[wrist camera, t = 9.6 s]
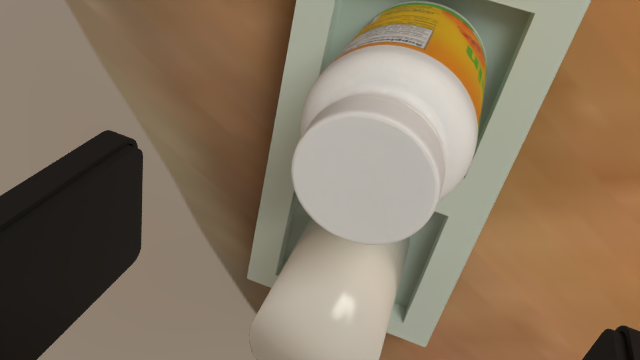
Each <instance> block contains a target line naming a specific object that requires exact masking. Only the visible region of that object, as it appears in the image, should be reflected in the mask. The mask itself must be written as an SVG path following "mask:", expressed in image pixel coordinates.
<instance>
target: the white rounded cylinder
mask: <svg viewBox="0 0 640 360" xmlns="http://www.w3.org/2000/svg"><path fill="white" fill-rule="evenodd" d="M409 246H410V236H409V237H408V238H405V239H403V240H401V241H398V242H395V243H391V244H385V245H365V244H359V243H354V242H351V241H347V240H344V239H342V238H340V237H338V236H336V235H333V234H331V233H330V232H328V231H327V230H325V229H324V228H323V227H321V226H320V225H319V224H318V223H316V222H315V221H314V220H313V219H312V218H311V220H310V221H309V223H308V225H307V227H306V229H305V230H304V232H303V234H302V236H301V237H300V239H299V241H298V243H297V244H296V246H295V248H294V250H293V251H292V253H291V255H290V257H289V258H288V260H287V262H286V264H285V266H284V267H283V269H282V271H281V273H280V274H279V276H278V278H277V280H276V281H275V283H274V285H273V287H272V288H271V290H270V292H269V294H268V295H267V297H266V299H265V301H264V303H263V304H262V306H261V308H260V310H259V311H258V313H257V315H256V317H255V319H254V320H253V322H252V324H251V327H250V331H249V342H250V346H251V350H252V352H253V354H254V356H255V358H256V360H379V358H380V354H381V350H382V347H383V343H384V339H385V335H386V332H387V328H388V324H389V321H390V317H391V313H392V309H393V306H394V302H395V298H396V295H397V291H398V287H399V283H400V280H401V276H402V272H403V268H404V265H405V261H406V257H407V254H408V250H409Z"/></svg>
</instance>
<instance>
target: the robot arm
mask: <svg viewBox="0 0 640 360" xmlns="http://www.w3.org/2000/svg"><path fill="white" fill-rule="evenodd" d="M142 172H143V155H142V151H141V150H140V149H138V146H137V143H136V141H135V140H134V139H131V138H129V137H126V136H124V135H121V134H118V133H116V132H113V131H109V130H107V131H104V132H102V133H100V134H99V135H97V136H95V137H94V138H92V139H91V140H89V141H88V142H86V143H84V144H83V145H81V146H79V147H78V148H76V149H75V150H73V151H71V152H70V153H68V154H67V155H65V156H64V157H62V158H60V159H59V160H57V161H56V162H54V163H52V164H51V165H49V166H48V167H46V168H44V169H43V170H41V171H40V172H38V173H37V174H35V175H33V176H32V177H30V178H28V179H27V180H25V181H24V182H22V183H20V184H19V185H17V186H16V187H14V188H12V189H11V190H9V191H8V192H6V193H4V194H3V195H1V196H0V360H37V359H38V357H40V356H41V355H42V353H44V352H45V351H46V350H47V349H48V348H49V347H50V346H51V345H52V344H53V343H54V342H55V341H56V340H57V339H58V338H59V337H60V336H61V335H62V334H63V333H64V332H65V331H66V330H67V329H68V328H69V327H70V326H71V325H72V324H73V323H74V321H76V320H77V319H78V317H80V316H81V315H82V314H83V313H84V312H85V311H86V310H87V309H88V308H89V307H90V306H91V305H92V303H94V302H95V301H96V300H97V299H98V298H99V297H100V296H101V295H102V294H103V293H104V292H105V291H106V290H107V289H108V288H109V287H110V286H111V285H112V284H113V283H114V282H115V281H116V280H117V279H118V277H120V276H121V275H122V274H123V273H124V272H125V271H126V270H127V269H128V268H129V267H130V266H131V265H132V264H133V263H134V261H135V260H136V259H137V257H138V255H139V253H140V249H141V225H142ZM582 360H640V331H637V330H635V329H632V328H629V327H627V326H620V327H618V328H617V329H616V330H615V331H614V330H612V329H606V330H605V331H604V332H603V333H602V334H601V335H600V337H599V338H598V339H597V341H596V342H595V343H594V345H593V346H592V347H591V349H590V350H589V351H588V353H587V354H586V355H585V357H584V358H583V359H582Z"/></svg>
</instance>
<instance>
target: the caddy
mask: <svg viewBox="0 0 640 360" xmlns="http://www.w3.org/2000/svg"><path fill="white" fill-rule="evenodd" d="M410 1H428V2H433V3H438V4H441V5H444V6H447V7H449V8H451V9H453V10H455V11H456V12H458V13H459V14H461V15H462V16H463V17H464V18H466V19H467V20H468V21H469V22H470V23H471V25H472V26H473V27H474V29H475V30H476V31H477V33H478V35H479V37H480V39H481V41H482V43H483V46H484V49H485V53H486V59H487V75H486V83H485V90H484V96H483V103H482V109H481V117H480V124H479V132H478V139H477V145H476V149H475V153H474V156H473V160H472V163H471V165H470V167H469V169H468V172H467V173H466V175H465V176H464V178H463V179H462V181H461V182H460V183H459V184H458V186H457V187H456V188H455V189H454V190H453V191H452V192H451V193H450V194H449V195H447V196H446V197H445V198H443V199H442V200H441V201H439V202H438V204H437V206H436V209H435V211H434V213H433V214H432V216H431V217H430V219H429V220H428V222H427V223H426V224H425V225H424V226H423V227H422V228H421V229H420V230H418V231H417V232H416V233H414V234H413V235H411V236H410V246H409V250H408V254H407V257H406V261H405V265H404V268H403V272H402V276H401V280H400V283H399V287H398V291H397V295H396V298H395V302H394V306H393V309H392V313H391V317H390V321H389V324H388V328H387V333H389V334H392V335H394V336H397V337H400V338H402V339H405V340H407V341H410V342H412V343H415V344H418V345H420V346H423V347H426V345H427V343H428V341H429V339H430V337H431V335H432V333H433V330H434V328H435V326H436V324H437V322H438V320H439V318H440V316H441V314H442V312H443V310H444V307H445V305H446V303H447V301H448V299H449V297H450V295H451V293H452V291H453V289H454V286H455V284H456V282H457V280H458V278H459V276H460V274H461V272H462V270H463V268H464V266H465V263H466V261H467V259H468V257H469V255H470V253H471V251H472V249H473V247H474V245H475V242H476V240H477V238H478V236H479V234H480V232H481V230H482V228H483V226H484V224H485V222H486V219H487V217H488V215H489V213H490V211H491V209H492V207H493V205H494V203H495V201H496V198H497V196H498V194H499V192H500V190H501V188H502V186H503V184H504V182H505V180H506V178H507V175H508V173H509V171H510V169H511V167H512V165H513V163H514V161H515V159H516V157H517V154H518V152H519V150H520V148H521V146H522V144H523V142H524V140H525V138H526V136H527V134H528V131H529V129H530V127H531V125H532V123H533V121H534V119H535V117H536V115H537V113H538V110H539V108H540V106H541V104H542V102H543V100H544V98H545V96H546V94H547V92H548V90H549V87H550V85H551V83H552V81H553V79H554V77H555V75H556V73H557V71H558V69H559V66H560V64H561V62H562V60H563V58H564V56H565V54H566V52H567V50H568V48H569V46H570V43H571V41H572V39H573V37H574V35H575V33H576V31H577V29H578V27H579V25H580V22H581V20H582V18H583V16H584V14H585V12H586V10H587V8H588V6H589V4H590V2H591V0H296V6H295V12H294V17H293V23H292V28H291V34H290V39H289V45H288V51H287V56H286V62H285V67H284V73H283V79H282V84H281V90H280V95H279V101H278V107H277V112H276V118H275V123H274V129H273V135H272V140H271V146H270V151H269V157H268V163H267V168H266V174H265V179H264V185H263V191H262V196H261V202H260V207H259V213H258V218H257V224H256V230H255V235H254V241H253V246H252V252H251V258H250V263H249V269H248V274H247V279H249V280H252V281H254V282H257V283H260V284H262V285H265V286H267V287H270V288H272V287H273V285H274V283H275V281H276V280H277V278H278V276H279V274H280V273H281V271H282V269H283V267H284V266H285V264H286V262H287V260H288V258H289V257H290V255H291V253H292V251H293V250H294V248H295V246H296V244H297V243H298V241H299V239H300V237H301V236H302V234H303V232H304V230H305V229H306V227H307V225H308V223H309V221H310V220H311V217H310V215H309V214H308V213H307V212H306V211H305V209H304V208H303V206H302V205H301V203H300V201H299V200H298V197H297V195H296V193H295V190H294V187H293V182H292V173H291V167H292V158H293V154H294V151H295V148H296V146H297V144H298V142H299V140H300V138H301V118H302V111H303V107H304V104H305V101H306V98H307V96H308V94H309V91H310V89H311V88H312V86H313V85H314V83H315V82H316V80H317V79H318V77H319V76H320V75H321V73H322V72H323V71H324V70H325V69H326V68H327V67H328V65H329V64H330V63H331V62H332V61H333V60H334V59H335V58H336V57H337V56H338V55H339V54H340V53H341V51H342V50H343V49H344V48H345V47H346V46H347V45H348V44H349V43H350V42H351V41H352V40H353V38H354V37H355V36H356V35H357V34H358V33H359V32H360V31H361V30H362V29H363V27H364V26H365V25H366V24H367V23H368V22H370V21H371V20H372V19H373V18H374V17H375V16H377V15H378V14H379V13H381V12H382V11H384V10H386V9H388V8H390V7H392V6H394V5H397V4H400V3H404V2H410Z"/></svg>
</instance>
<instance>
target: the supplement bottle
mask: <svg viewBox="0 0 640 360" xmlns="http://www.w3.org/2000/svg"><path fill="white" fill-rule="evenodd" d="M486 75H487V59H486V53H485V49H484V46H483V43H482V41H481V39H480V37H479V35H478V33H477V31H476V30H475V29H474V27H473V26H472V25H471V23H470V22H469V21H468V20H467V19H466V18H464V17H463V16H462V15H461V14H459V13H458V12H456V11H455V10H453V9H451V8H449V7H447V6H444V5H441V4H438V3H433V2H428V1H410V2H404V3H400V4H397V5H394V6H392V7H390V8H388V9H386V10H384V11H382V12H381V13H379V14H378V15H377V16H375V17H374V18H373V19H372V20H371V21H370V22H368V23H367V24H366V25H365V26H364V27H363V29H362V30H361V31H360V32H359V33H358V34H357V35H356V36H355V37H354V38H353V40H352V41H351V42H350V43H349V44H348V45H347V46H346V47H345V48H344V49H343V50H342V51H341V53H340V54H339V55H338V56H337V57H336V58H335V59H334V60H333V61H332V62H331V63H330V64H329V65H328V67H327V68H326V69H325V70H324V71H323V72H322V73H321V75H320V76H319V77H318V79H317V80H316V82H315V83H314V85H313V86H312V88H311V89H310V91H309V94H308V96H307V98H306V101H305V104H304V107H303V111H302V118H301V138H300V140H299V142H298V144H297V146H296V148H295V151H294V154H293V158H292V167H291V173H292V182H293V187H294V190H295V193H296V195H297V197H298V200H299V201H300V203H301V205H302V206H303V208H304V209H305V211H306V212H307V213H308V214H309V215H310V217H311V218H312V219H313V220H314V221H315V222H316V223H318V224H319V225H320V226H321V227H323V228H324V229H325V230H327V231H328V232H330V233H331V234H333V235H336V236H338V237H340V238H342V239H344V240H347V241H351V242H354V243H359V244H365V245H385V244H391V243H395V242H398V241H401V240H403V239H405V238H408V237H409V236H411V235H413V234H414V233H416V232H417V231H418V230H420V229H421V228H422V227H423V226H424V225H425V224H426V223H427V222H428V220H429V219H430V217H431V216H432V214H433V213H434V211H435V209H436V206H437V204H438V202H439V201H441V200H442V199H443V198H445V197H446V196H447V195H449V194H450V193H451V192H452V191H453V190H454V189H455V188H456V187H457V186H458V184H459V183H460V182H461V181H462V179H463V178H464V176H465V175H466V173H467V172H468V169H469V167H470V165H471V163H472V160H473V156H474V153H475V149H476V145H477V139H478V132H479V124H480V117H481V109H482V103H483V96H484V90H485V83H486Z"/></svg>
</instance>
